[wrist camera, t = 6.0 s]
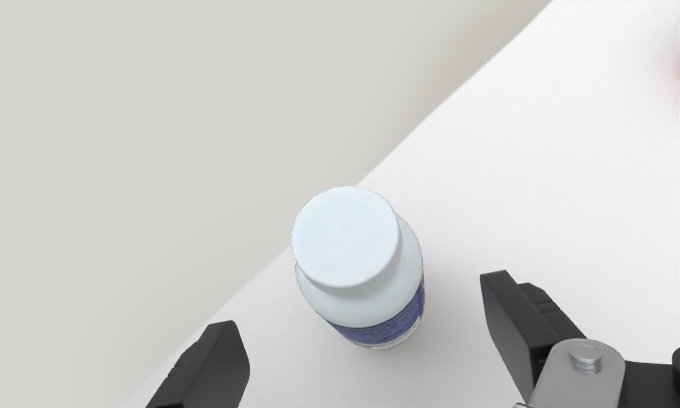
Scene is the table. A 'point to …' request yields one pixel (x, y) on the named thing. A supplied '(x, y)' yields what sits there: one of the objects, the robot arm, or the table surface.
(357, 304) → the pill bottle
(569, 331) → the robot arm
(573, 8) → the table surface
